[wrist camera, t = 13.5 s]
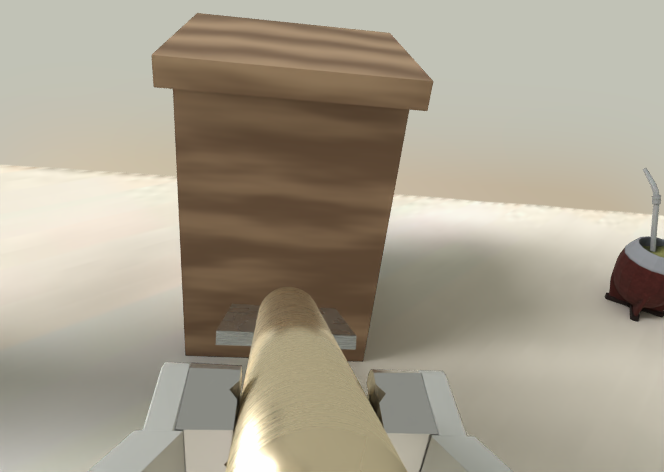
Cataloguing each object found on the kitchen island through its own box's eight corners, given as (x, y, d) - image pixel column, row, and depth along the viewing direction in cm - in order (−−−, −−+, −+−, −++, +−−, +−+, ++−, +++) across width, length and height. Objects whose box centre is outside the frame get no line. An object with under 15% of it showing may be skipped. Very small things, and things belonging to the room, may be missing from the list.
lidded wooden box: (375, 369, 47) (433, 81, 34) (171, 363, 45) (151, 54, 32) (354, 260, 63) (389, 32, 50) (202, 252, 61) (197, 13, 48)
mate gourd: (668, 334, 57) (737, 213, 49) (592, 308, 59) (646, 189, 52) (664, 299, 63) (724, 186, 55) (595, 277, 65) (643, 166, 58)
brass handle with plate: (543, 629, 7) (555, 430, 7) (62, 641, 6) (74, 422, 6) (334, 318, 31) (337, 274, 31) (231, 314, 30) (233, 269, 30)
